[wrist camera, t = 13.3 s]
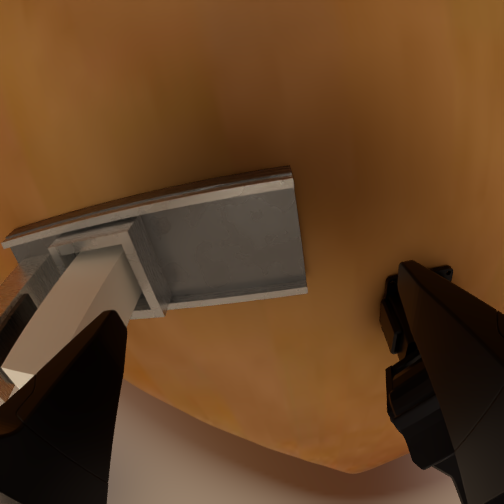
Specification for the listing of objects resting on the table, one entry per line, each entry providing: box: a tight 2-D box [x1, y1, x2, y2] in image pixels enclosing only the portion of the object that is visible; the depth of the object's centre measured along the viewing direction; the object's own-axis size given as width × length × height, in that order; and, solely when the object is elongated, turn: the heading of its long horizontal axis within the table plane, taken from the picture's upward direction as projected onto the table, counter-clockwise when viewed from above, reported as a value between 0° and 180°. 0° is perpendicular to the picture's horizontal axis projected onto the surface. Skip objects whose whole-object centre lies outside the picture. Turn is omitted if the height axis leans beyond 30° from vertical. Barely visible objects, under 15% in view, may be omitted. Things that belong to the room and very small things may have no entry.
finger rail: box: [0, 166, 308, 403], centre depth 19 cm, size 25×9×14 cm, turn 101°
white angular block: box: [1, 244, 142, 389], centre depth 18 cm, size 5×4×12 cm
